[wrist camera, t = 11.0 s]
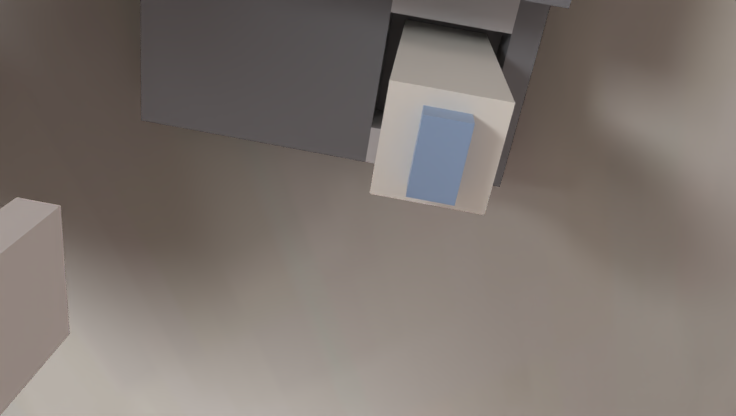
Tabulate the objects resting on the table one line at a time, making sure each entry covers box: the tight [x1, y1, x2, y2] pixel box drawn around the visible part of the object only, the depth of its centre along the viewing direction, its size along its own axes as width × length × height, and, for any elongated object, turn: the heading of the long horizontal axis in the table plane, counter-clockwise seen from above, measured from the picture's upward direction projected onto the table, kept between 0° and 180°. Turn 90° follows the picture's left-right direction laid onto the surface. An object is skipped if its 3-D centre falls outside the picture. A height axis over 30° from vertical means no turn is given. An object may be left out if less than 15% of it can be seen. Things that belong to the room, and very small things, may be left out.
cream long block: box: [369, 20, 515, 215], centre depth 25 cm, size 4×4×13 cm
